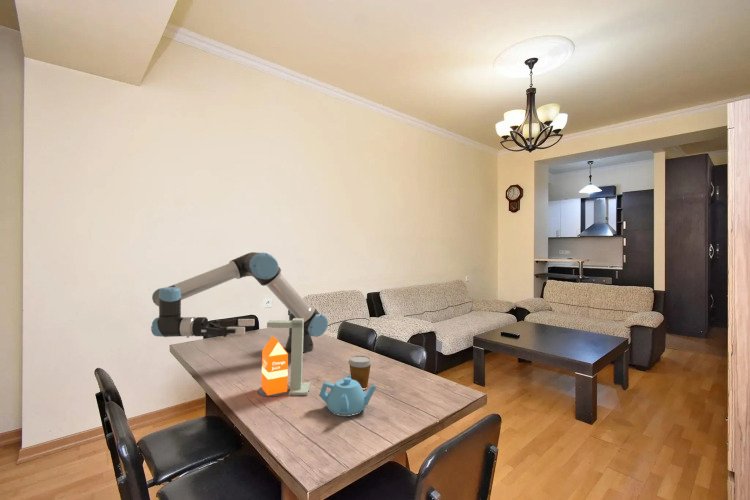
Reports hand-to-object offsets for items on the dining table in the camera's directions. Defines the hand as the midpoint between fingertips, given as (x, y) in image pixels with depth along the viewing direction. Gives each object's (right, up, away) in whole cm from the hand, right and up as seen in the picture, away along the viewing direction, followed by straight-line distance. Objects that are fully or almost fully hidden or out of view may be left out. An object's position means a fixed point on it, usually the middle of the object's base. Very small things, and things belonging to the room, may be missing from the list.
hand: (249, 326), depth 141 cm
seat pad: (+11, -24, -4) cm, 27 cm away
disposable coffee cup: (+44, -25, 0) cm, 51 cm away
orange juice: (+11, -24, -4) cm, 27 cm away
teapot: (+41, -25, -18) cm, 51 cm away
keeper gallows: (+16, -24, -4) cm, 30 cm away
